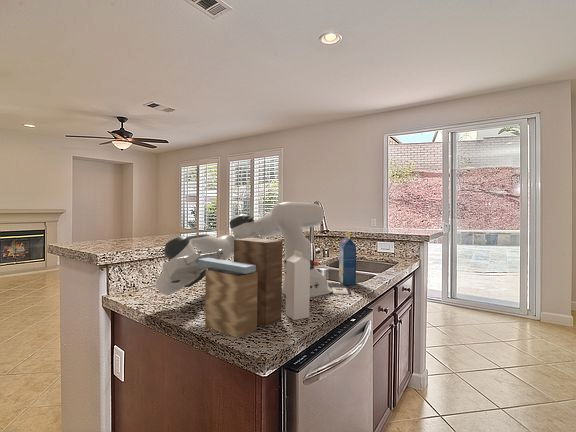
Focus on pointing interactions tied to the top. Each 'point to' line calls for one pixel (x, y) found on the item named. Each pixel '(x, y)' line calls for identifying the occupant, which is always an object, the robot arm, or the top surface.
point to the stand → (264, 274)
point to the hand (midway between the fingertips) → (210, 253)
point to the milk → (297, 286)
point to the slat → (226, 265)
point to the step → (231, 301)
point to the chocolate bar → (339, 288)
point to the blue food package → (347, 261)
